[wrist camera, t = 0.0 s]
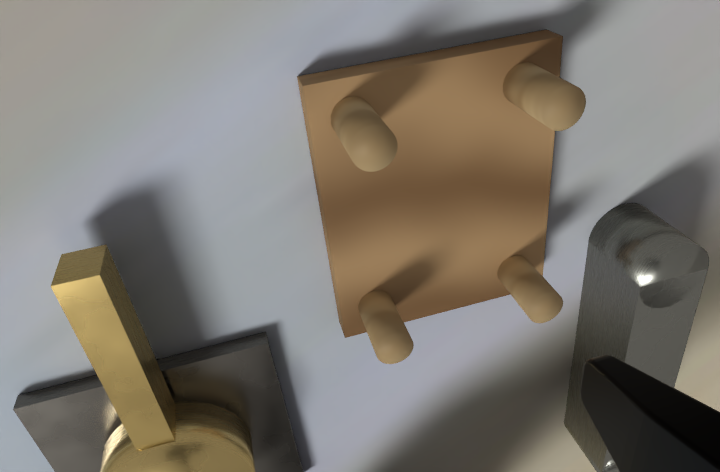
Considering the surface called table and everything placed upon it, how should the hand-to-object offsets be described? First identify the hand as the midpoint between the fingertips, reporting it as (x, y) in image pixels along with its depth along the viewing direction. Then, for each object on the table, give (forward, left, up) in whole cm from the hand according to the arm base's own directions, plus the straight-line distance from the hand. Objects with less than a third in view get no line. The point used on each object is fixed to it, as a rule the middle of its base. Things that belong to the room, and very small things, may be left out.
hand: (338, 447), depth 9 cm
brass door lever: (-11, +7, -14) cm, 19 cm away
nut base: (-15, +7, -15) cm, 22 cm away
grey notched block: (-16, -17, -15) cm, 28 cm away
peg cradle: (-4, -7, -15) cm, 17 cm away
